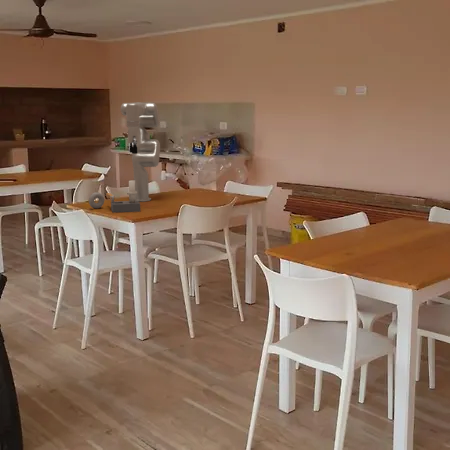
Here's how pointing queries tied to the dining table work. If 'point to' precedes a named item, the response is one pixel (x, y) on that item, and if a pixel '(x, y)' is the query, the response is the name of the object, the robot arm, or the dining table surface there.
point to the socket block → (124, 206)
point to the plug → (132, 191)
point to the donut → (92, 198)
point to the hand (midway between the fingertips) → (133, 152)
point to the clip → (110, 196)
